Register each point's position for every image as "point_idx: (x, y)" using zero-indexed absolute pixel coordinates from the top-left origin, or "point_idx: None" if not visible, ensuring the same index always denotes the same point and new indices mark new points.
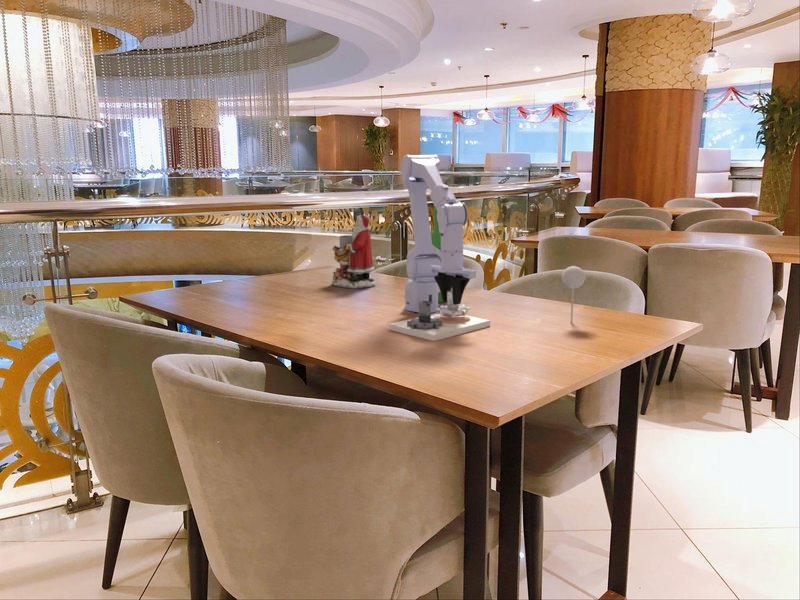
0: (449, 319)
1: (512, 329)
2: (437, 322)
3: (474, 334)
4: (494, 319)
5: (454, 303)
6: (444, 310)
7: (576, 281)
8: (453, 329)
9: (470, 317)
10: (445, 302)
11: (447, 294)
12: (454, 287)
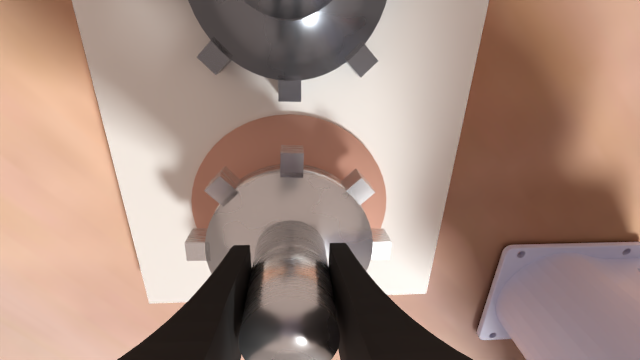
0: None
1: (55, 302)
2: (194, 8)
3: (67, 134)
4: None
5: (235, 247)
6: (302, 192)
7: None
8: (89, 36)
9: None
10: (329, 247)
11: (302, 283)
12: (171, 336)
